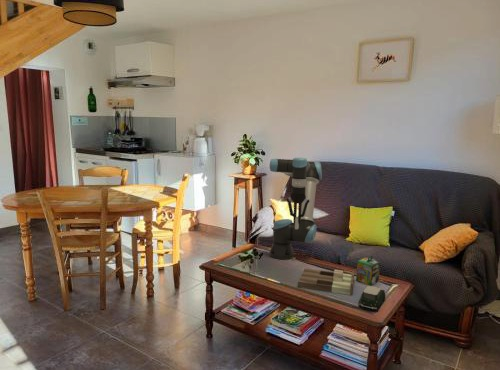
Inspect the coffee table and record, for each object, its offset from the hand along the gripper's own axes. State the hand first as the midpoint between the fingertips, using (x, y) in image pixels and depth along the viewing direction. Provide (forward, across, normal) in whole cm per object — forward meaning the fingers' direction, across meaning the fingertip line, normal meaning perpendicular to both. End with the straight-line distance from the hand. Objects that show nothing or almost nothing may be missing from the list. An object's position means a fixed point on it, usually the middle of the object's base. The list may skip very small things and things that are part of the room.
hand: (296, 228), depth 210 cm
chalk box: (+27, +39, +5) cm, 48 cm away
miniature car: (+27, +41, -22) cm, 54 cm away
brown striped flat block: (+26, +18, -6) cm, 33 cm away
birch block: (+23, +24, -7) cm, 34 cm away
